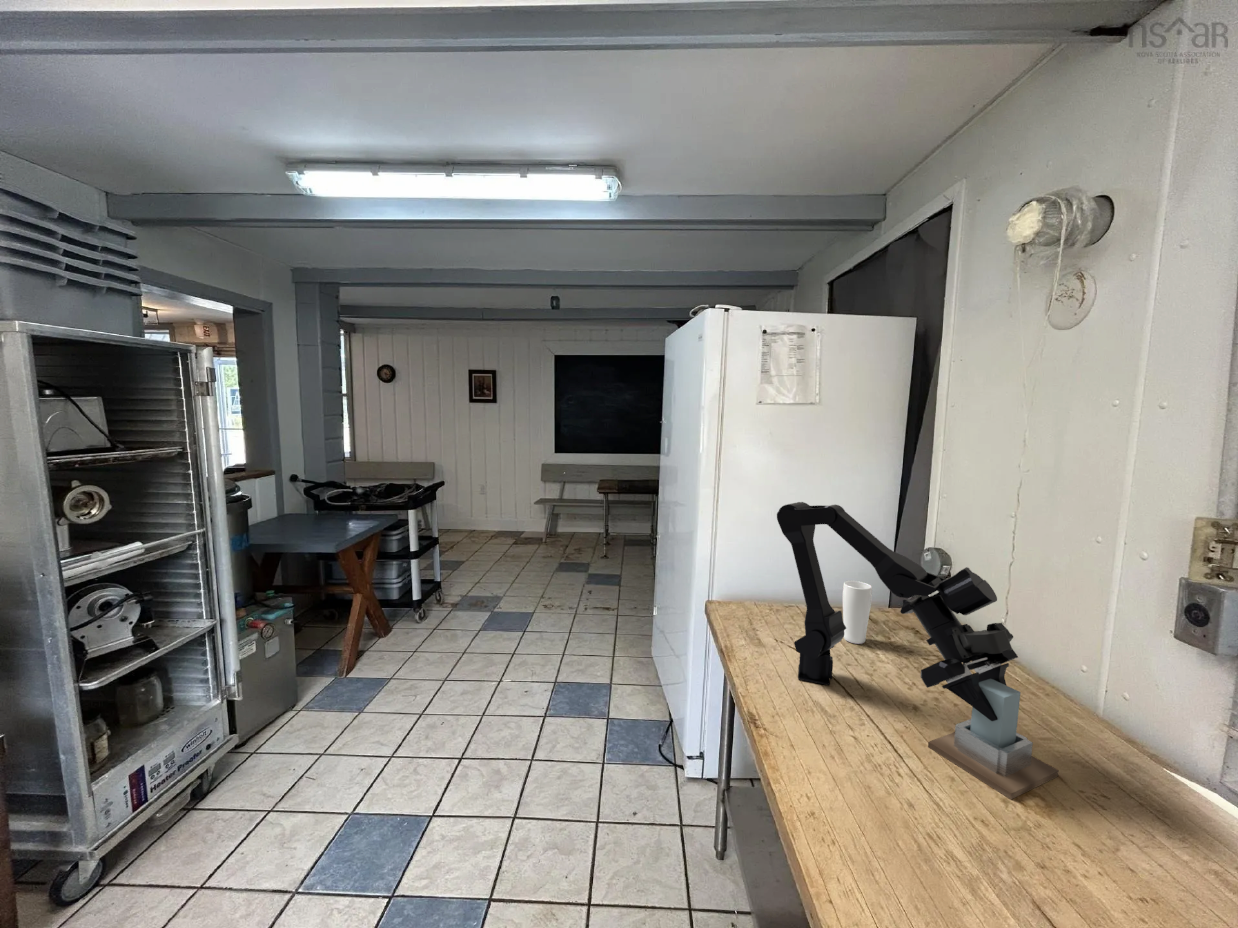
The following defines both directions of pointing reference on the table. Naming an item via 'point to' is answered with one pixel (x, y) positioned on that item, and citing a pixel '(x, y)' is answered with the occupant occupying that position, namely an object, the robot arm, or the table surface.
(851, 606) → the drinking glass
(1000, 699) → the light blue pillar
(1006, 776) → the docking socket
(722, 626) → the table surface
